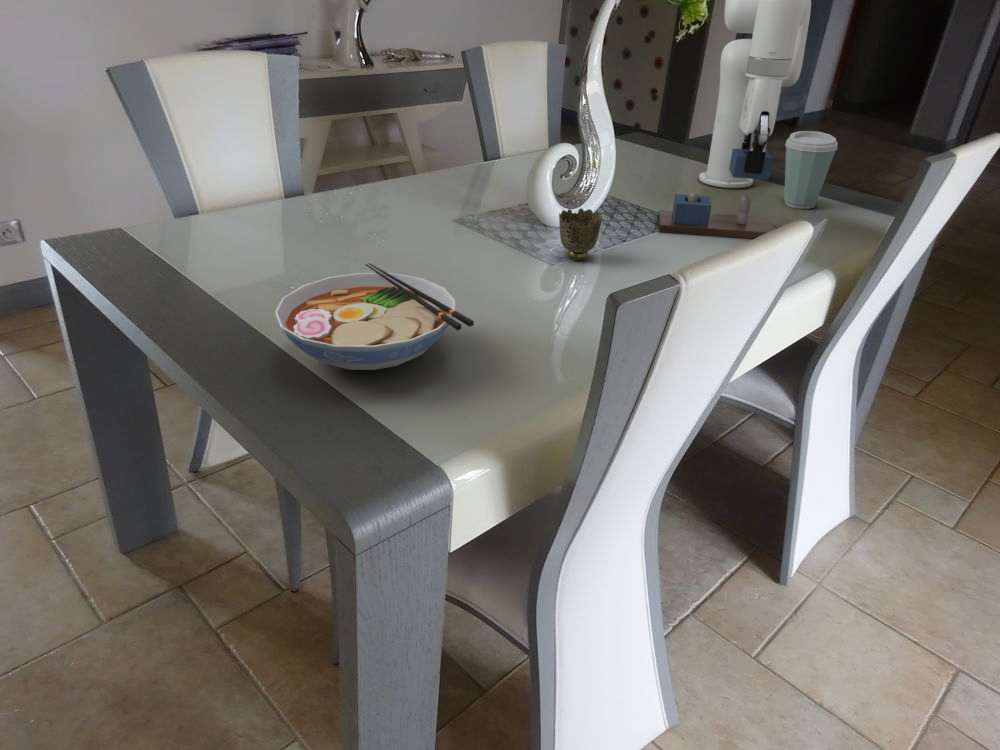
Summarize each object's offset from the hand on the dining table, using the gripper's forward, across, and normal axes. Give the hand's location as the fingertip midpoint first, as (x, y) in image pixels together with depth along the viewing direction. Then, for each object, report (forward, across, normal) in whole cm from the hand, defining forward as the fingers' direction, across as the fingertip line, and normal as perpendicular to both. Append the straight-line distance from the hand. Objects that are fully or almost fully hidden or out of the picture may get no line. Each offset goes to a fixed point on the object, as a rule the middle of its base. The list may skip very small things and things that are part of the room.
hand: (749, 167), depth 143 cm
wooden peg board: (+12, 0, -5) cm, 13 cm away
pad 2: (+1, 0, 0) cm, 1 cm away
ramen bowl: (+13, +66, -55) cm, 87 cm away
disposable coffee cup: (+12, -21, +15) cm, 29 cm away
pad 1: (+11, 0, -10) cm, 15 cm away
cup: (+13, +23, -31) cm, 41 cm away
